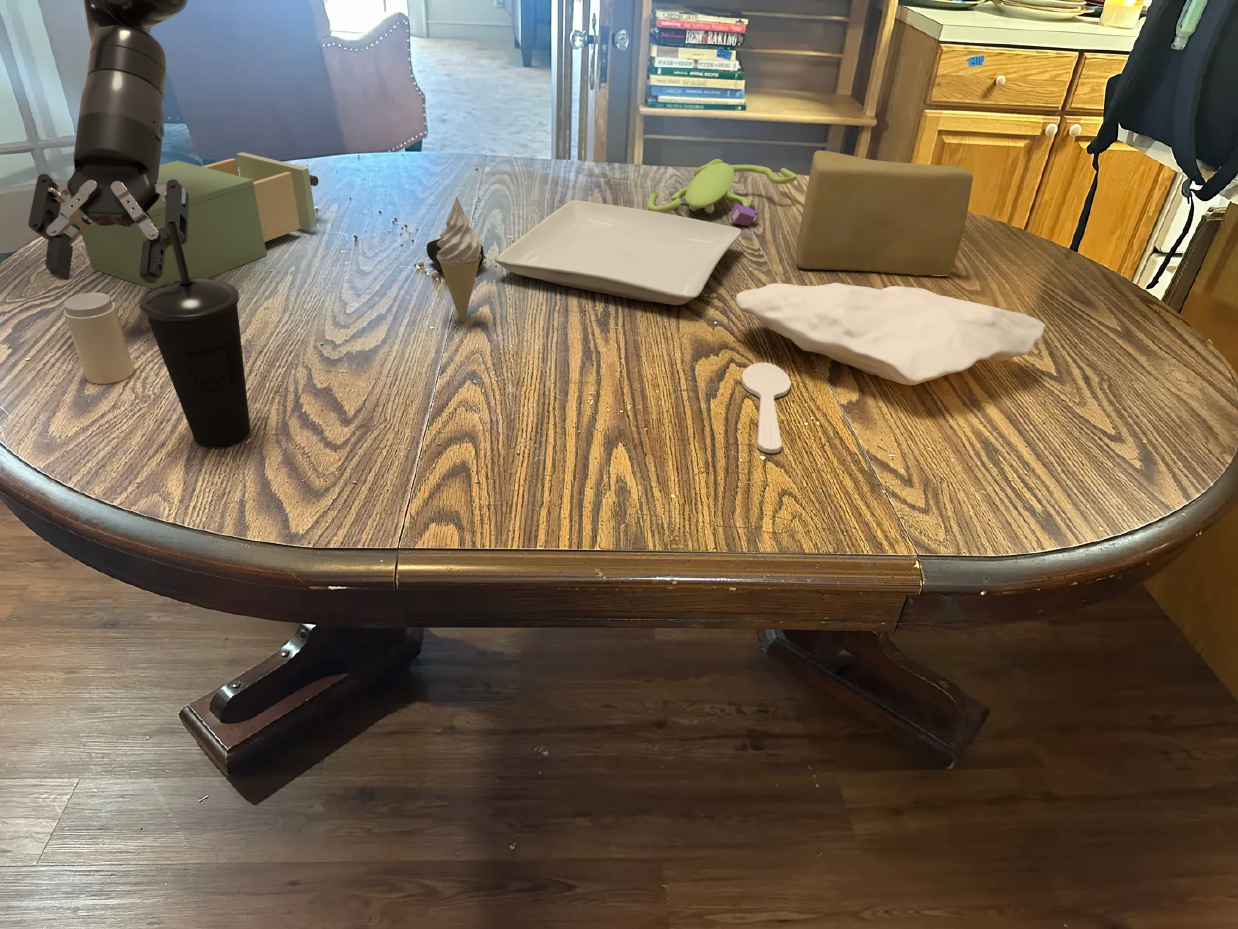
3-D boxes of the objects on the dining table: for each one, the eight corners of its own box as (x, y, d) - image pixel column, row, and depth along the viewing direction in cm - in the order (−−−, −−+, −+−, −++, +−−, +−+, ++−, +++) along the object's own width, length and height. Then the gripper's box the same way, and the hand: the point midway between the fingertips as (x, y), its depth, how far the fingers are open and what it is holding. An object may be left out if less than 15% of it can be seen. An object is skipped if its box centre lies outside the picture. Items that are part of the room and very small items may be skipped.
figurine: (802, 197, 150) (807, 165, 147) (740, 238, 131) (746, 202, 128) (707, 176, 157) (711, 145, 154) (636, 212, 138) (639, 177, 135)
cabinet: (194, 234, 119) (177, 160, 113) (266, 255, 114) (253, 179, 109) (92, 268, 107) (67, 188, 102) (168, 294, 103) (146, 211, 97)
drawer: (274, 202, 129) (264, 145, 124) (337, 219, 125) (330, 161, 120) (169, 237, 115) (154, 175, 110) (237, 257, 111) (224, 193, 106)
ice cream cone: (451, 333, 99) (444, 205, 90) (434, 316, 102) (425, 191, 94) (491, 325, 101) (487, 199, 93) (472, 309, 104) (467, 186, 96)
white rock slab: (1069, 425, 87) (1099, 340, 83) (728, 382, 90) (741, 297, 86) (1003, 354, 108) (1025, 283, 104) (729, 321, 111) (739, 250, 107)
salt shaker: (75, 376, 86) (50, 302, 81) (114, 359, 89) (92, 287, 85) (105, 388, 84) (81, 314, 80) (144, 370, 88) (122, 298, 83)
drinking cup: (259, 406, 83) (216, 203, 72) (273, 446, 78) (230, 233, 67) (173, 422, 80) (114, 212, 69) (182, 464, 75) (120, 244, 63)
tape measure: (425, 263, 116) (423, 236, 113) (474, 257, 118) (473, 230, 116) (441, 282, 111) (439, 254, 109) (491, 275, 113) (490, 248, 111)
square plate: (570, 220, 133) (570, 195, 131) (740, 251, 126) (744, 225, 124) (492, 282, 112) (491, 253, 109) (692, 323, 105) (696, 293, 103)
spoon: (741, 449, 82) (742, 445, 82) (741, 363, 97) (741, 359, 96) (797, 456, 82) (798, 451, 81) (788, 368, 96) (789, 364, 96)
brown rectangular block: (944, 264, 127) (974, 161, 119) (954, 289, 119) (987, 181, 111) (795, 247, 129) (814, 144, 121) (795, 270, 121) (816, 163, 113)
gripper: (26, 105, 84) (5, 261, 81) (176, 112, 85) (160, 266, 82) (69, 146, 91) (51, 290, 88) (207, 152, 92) (193, 295, 89)
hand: (103, 278), depth 85 cm, fingers open, 8 cm apart
